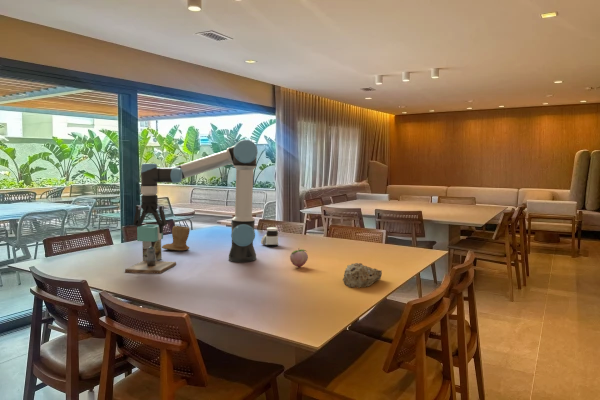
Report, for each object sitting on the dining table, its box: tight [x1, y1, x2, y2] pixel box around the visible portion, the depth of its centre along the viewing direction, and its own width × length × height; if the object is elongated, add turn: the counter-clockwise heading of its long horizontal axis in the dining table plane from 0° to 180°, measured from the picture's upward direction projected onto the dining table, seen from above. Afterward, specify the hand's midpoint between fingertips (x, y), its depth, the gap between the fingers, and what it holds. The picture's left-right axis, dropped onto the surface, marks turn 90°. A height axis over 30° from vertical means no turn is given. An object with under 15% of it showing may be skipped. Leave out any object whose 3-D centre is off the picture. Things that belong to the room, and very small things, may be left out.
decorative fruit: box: [289, 248, 309, 268], centre depth 215 cm, size 9×8×10 cm
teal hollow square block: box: [136, 224, 164, 242], centre depth 211 cm, size 9×9×7 cm
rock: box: [342, 262, 383, 289], centre depth 188 cm, size 21×14×10 cm
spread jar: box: [260, 226, 279, 248], centre depth 272 cm, size 12×11×12 cm
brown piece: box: [161, 225, 190, 252], centre depth 258 cm, size 15×12×15 cm
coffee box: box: [141, 239, 163, 261], centre depth 230 cm, size 9×6×16 cm
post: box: [147, 247, 156, 266], centre depth 212 cm, size 4×4×11 cm
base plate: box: [124, 260, 177, 274], centre depth 212 cm, size 18×18×2 cm
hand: (150, 239), depth 211 cm, fingers closed on teal hollow square block, 9 cm apart
